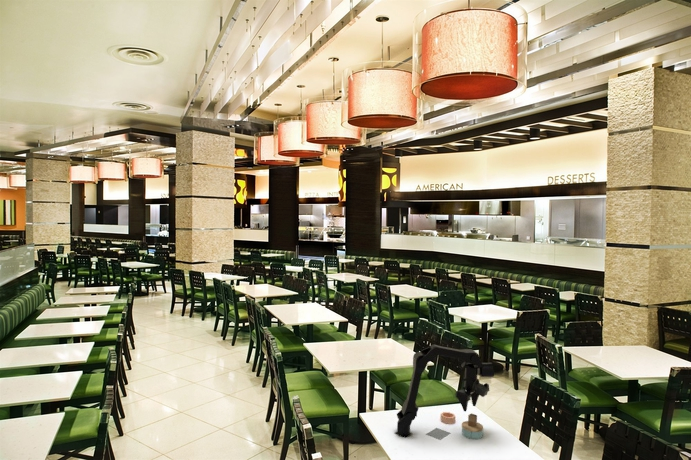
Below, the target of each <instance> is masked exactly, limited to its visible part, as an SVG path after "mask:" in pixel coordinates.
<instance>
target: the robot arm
mask: <svg viewBox="0 0 691 460" xmlns="http://www.w3.org/2000/svg"><path fill="white" fill-rule="evenodd" d="M436 356H443V357H448V358H453V359H458V360H461V361H463V363H461V364H460V365H461V367H462V368H463V369H465V371H464V377H463V378H462V380H463V381H464V385H463V386H462V389H459V390H457V391H456V392H455V397H456V399H458V400H459V403H460V405H461V407H462V410H463V412H467V409H468V403H469V401H471V404H472V407H476V405H477V403H478V400H479V397H481V398H484V397H485V396H487V395H488V392H490V384H489V383H488V382H485V383H484V384H483V383H480V379H479V378H478V375H479V376H480V378H494V376H495V370H494V365H493V362H482V361H481V359H480V355H479V353H477V352H476V351H475V350H474V349H470V348H464V349H463V348H462V349H457V348H451V347H446V346H442V345H441V346H440V345H437V344H431V345H430V346H429V347H426V348H423V349H422V350H420V351H417V352H415V353H414V354H413V356H412V360H413V361H412V370H413V371H412V374H411V379H410V383H409V387H408V393H407V396H406V398H405V400H404V401H403V404H402V406H401V409H400V410H399V411H398V412H397V413H396V417H397V419H398V420H397V424H396V425H397V426H396V427H397V428H396V429H397V430H396V431H395V432H394V434H395V435H398V436H399V437H402V438H408V437H410V436H411V435H413V432H411V425H412V422H413V421H414V420H415V419H416V417H418V411H419V407H418V405H417V396H418V392H419V390H420V389H419V388H420V383H421V380H422V376H423V373H424V372H425V370H426V368H427V367H428V366H427V365H428V363H430V362H431V361H432V360H433V359H434V358H435V357H436Z"/></svg>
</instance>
